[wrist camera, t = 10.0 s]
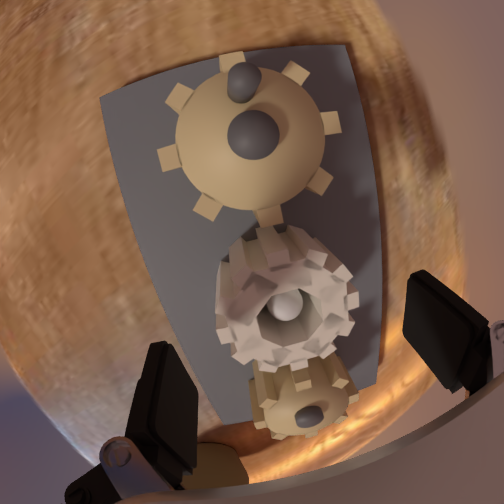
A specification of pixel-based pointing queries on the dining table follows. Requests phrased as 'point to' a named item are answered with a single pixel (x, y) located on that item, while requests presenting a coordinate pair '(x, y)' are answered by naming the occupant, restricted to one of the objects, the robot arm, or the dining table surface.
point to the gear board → (253, 212)
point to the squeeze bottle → (216, 468)
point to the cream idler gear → (275, 282)
